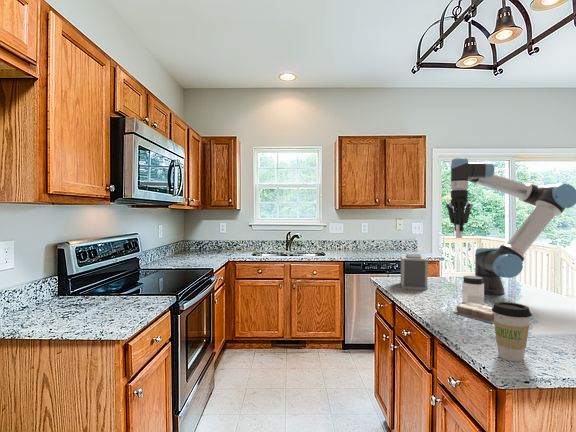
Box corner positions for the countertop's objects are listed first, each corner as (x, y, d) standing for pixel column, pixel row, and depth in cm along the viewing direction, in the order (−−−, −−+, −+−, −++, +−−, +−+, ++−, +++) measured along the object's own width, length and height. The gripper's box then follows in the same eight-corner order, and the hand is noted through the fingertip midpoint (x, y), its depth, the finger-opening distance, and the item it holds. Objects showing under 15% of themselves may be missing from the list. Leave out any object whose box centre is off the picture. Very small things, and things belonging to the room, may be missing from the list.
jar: (476, 306, 158) (476, 279, 158) (459, 302, 165) (459, 276, 165) (487, 303, 163) (487, 277, 163) (469, 299, 170) (469, 274, 170)
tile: (471, 302, 154) (504, 309, 142) (470, 307, 154) (504, 316, 142) (456, 305, 149) (489, 313, 137) (456, 311, 149) (489, 320, 137)
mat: (476, 308, 155) (476, 307, 155) (515, 317, 142) (515, 316, 142) (453, 313, 147) (453, 312, 147) (492, 323, 134) (492, 323, 134)
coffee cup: (483, 351, 108) (484, 301, 107) (514, 350, 108) (514, 301, 108) (506, 365, 98) (507, 310, 98) (539, 363, 99) (540, 310, 98)
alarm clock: (400, 282, 211) (400, 251, 211) (424, 283, 208) (424, 252, 208) (401, 289, 194) (402, 255, 193) (427, 290, 190) (427, 256, 190)
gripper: (442, 190, 178) (442, 237, 178) (467, 189, 167) (466, 239, 167) (452, 190, 182) (451, 236, 182) (476, 189, 170) (476, 238, 171)
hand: (458, 237), depth 174 cm, fingers closed
